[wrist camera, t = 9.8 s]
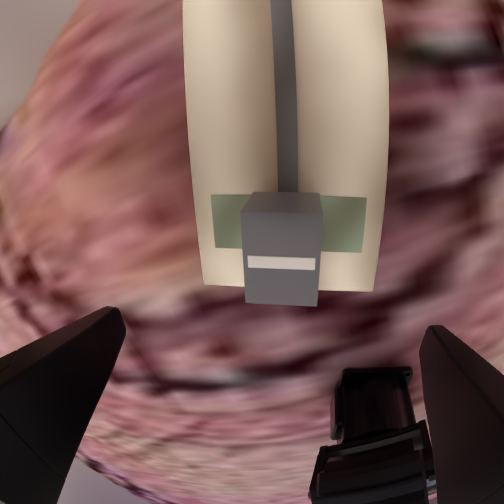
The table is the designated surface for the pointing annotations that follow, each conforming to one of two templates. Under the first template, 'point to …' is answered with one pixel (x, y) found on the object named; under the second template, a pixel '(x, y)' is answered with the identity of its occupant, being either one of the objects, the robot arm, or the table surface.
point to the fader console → (288, 125)
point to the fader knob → (282, 247)
